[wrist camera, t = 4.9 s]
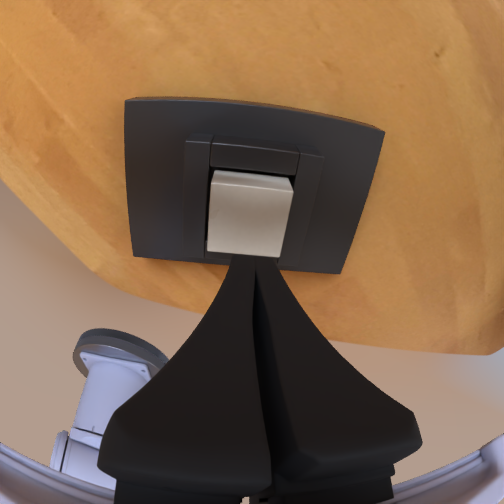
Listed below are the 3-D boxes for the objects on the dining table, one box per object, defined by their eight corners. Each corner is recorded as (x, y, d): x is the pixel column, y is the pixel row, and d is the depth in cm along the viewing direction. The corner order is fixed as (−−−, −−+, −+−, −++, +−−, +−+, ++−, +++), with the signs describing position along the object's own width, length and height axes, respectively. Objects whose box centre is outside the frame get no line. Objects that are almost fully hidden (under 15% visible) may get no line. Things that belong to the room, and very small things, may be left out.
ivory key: (276, 238, 16) (279, 258, 14) (210, 232, 15) (207, 251, 14) (288, 177, 14) (294, 191, 12) (214, 169, 13) (210, 182, 12)
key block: (334, 259, 21) (347, 292, 18) (140, 242, 19) (124, 274, 16) (373, 125, 15) (401, 140, 12) (135, 97, 14) (110, 104, 11)
